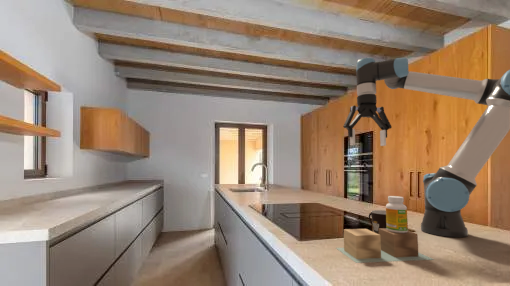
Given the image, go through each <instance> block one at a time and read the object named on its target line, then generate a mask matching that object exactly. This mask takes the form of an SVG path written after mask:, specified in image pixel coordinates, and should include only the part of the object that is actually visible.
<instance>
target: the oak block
mask: <svg viewBox="0 0 510 286" xmlns="http://www.w3.org/2000/svg"><path fill="white" fill-rule="evenodd" d="M343 248H344V251H346V252H347V253H349V254H350V255H352V256H353V257H354V258H356V259H368V258H381V239H380V235H379V234H377V233H375V232H374V231H372V230H370V229H368V228H345V229H343Z"/></svg>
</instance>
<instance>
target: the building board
mask: <svg viewBox="0 0 510 286" xmlns="http://www.w3.org/2000/svg"><path fill="white" fill-rule="evenodd" d="M335 249H336V250H337V251H339V252H340V253H341V254H342V255H344V256H346V257H347V258H349V259H350V260H351V261H353V262H354V263H357V264H358V263H360V264H362V263H380V262H386V263H387V262H388V263H389V262H406V261H407V262H408V261H412V262H413V261H429V260H431V261H432V260H433V261H434V260H435V258H432V257H430V256H428V255H424V254H423V253H421V252H419V251H418V257H393V256H391V255H389V254H387V253H386V252H384V251H382V250H381V258H368V259H356V258H354V257H353V256H352V255H350V254H349V253H347V252H346V251H344V247H336V248H335Z"/></svg>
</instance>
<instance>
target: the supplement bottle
mask: <svg viewBox="0 0 510 286" xmlns="http://www.w3.org/2000/svg"><path fill="white" fill-rule="evenodd" d="M404 199H405V198H404V196H397V195H388V196H387V201H388V203H386V205H385V211H386V227H387V230H388V231H390V232H395V233H407V232H408V231H409V225H408V207H407V205H405V204H404Z"/></svg>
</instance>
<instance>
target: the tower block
mask: <svg viewBox="0 0 510 286" xmlns="http://www.w3.org/2000/svg"><path fill="white" fill-rule="evenodd" d="M379 235H380V239H381V250H382V251H384V252H386V253H387V254H389V255H391V256H393V257H418V252H419V238H418V233H416V232H414V231H410V230H408V232H407V233H395V232H390V231H388V230H387V228H379Z"/></svg>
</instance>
